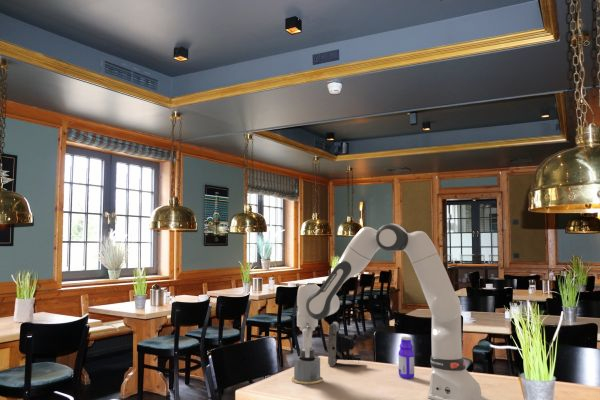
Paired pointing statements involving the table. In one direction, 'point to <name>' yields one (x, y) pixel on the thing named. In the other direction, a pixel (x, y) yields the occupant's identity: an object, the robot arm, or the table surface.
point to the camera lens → (302, 354)
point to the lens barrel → (307, 371)
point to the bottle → (406, 358)
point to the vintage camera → (340, 345)
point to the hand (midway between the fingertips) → (307, 355)
